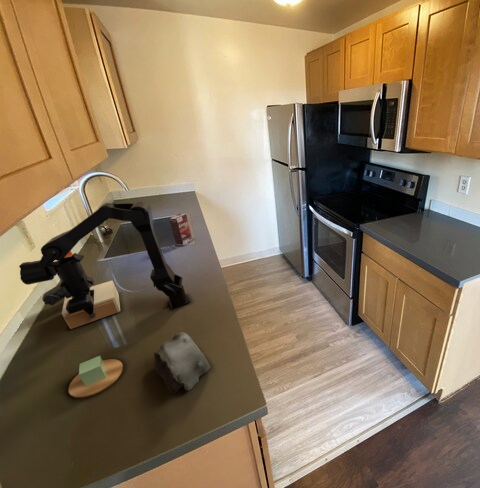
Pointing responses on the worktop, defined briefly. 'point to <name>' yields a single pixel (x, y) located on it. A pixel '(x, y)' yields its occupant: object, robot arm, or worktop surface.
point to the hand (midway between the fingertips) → (91, 313)
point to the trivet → (112, 374)
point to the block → (92, 371)
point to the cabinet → (99, 297)
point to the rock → (180, 362)
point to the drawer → (98, 312)
